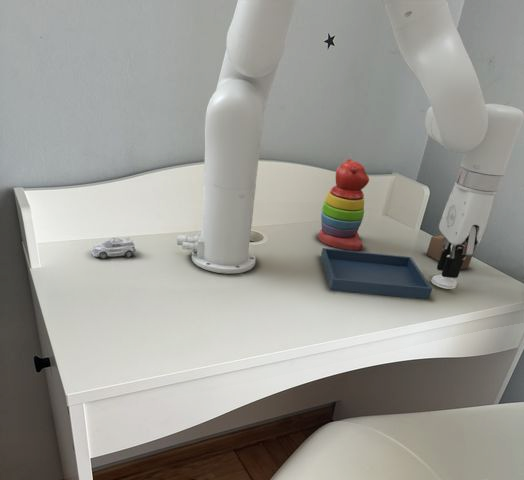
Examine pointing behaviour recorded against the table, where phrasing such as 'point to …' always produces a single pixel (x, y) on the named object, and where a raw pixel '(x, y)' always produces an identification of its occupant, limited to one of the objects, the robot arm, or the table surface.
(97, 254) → the toy car
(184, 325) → the table surface
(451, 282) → the chess piece
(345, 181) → the stacking bear
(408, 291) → the tray
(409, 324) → the table surface
